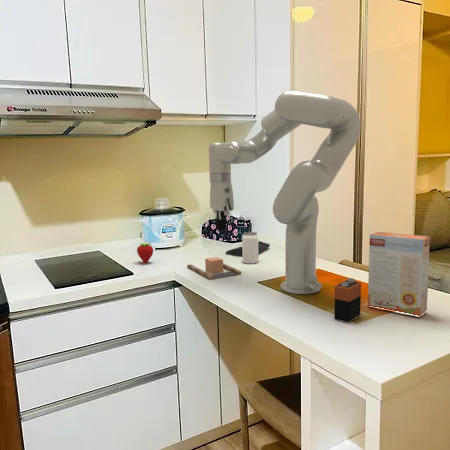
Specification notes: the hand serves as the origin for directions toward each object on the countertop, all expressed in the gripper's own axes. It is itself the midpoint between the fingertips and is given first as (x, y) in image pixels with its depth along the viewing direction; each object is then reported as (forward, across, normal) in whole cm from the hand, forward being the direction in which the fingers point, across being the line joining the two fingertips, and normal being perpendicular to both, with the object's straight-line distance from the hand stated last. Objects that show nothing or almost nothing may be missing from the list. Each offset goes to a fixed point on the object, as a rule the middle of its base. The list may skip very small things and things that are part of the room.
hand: (221, 230), depth 149 cm
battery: (+17, -53, -9) cm, 57 cm away
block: (+17, +7, 0) cm, 18 cm away
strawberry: (+17, +35, +18) cm, 43 cm away
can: (+17, +12, -19) cm, 28 cm away
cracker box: (+17, -56, -24) cm, 63 cm away
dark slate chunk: (+18, +29, -29) cm, 45 cm away
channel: (+17, +8, 0) cm, 19 cm away
